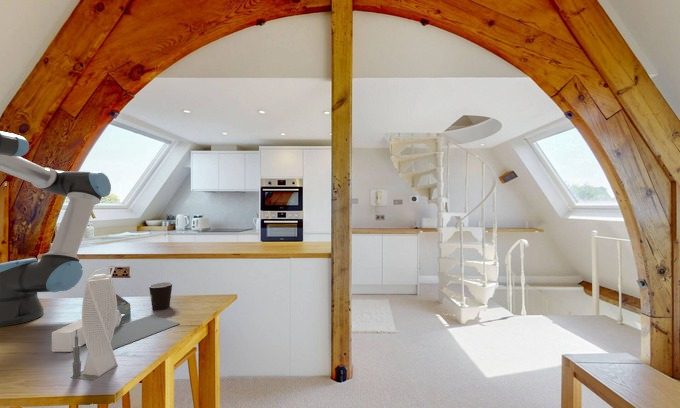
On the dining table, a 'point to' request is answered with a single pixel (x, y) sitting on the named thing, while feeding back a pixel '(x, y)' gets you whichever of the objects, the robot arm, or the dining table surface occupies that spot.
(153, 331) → the mat
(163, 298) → the coffee mug
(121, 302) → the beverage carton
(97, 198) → the robot arm
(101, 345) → the skyscraper
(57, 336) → the milk
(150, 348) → the dining table surface
